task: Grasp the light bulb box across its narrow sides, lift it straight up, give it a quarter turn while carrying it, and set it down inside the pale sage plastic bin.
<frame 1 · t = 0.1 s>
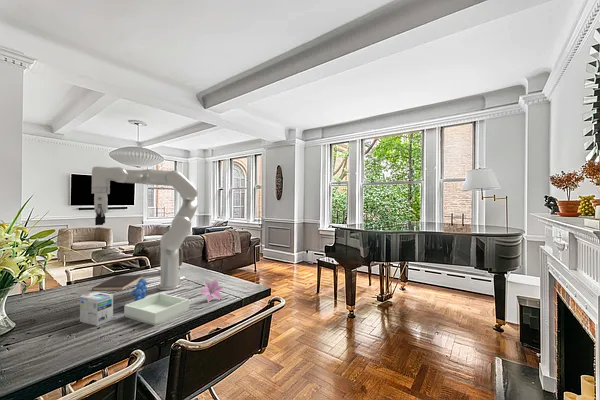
hand: (100, 224, 140), 37 cm above the table, tool pointing down, fingers open, 9 cm apart
hardcover book: (119, 284, 162), on the table
lily: (211, 299, 139), on the table
bin: (157, 313, 121), on the table
tabletop clock: (170, 272, 189), on the table
light bulb box: (96, 321, 113), on the table
grapes: (138, 304, 131), on the table
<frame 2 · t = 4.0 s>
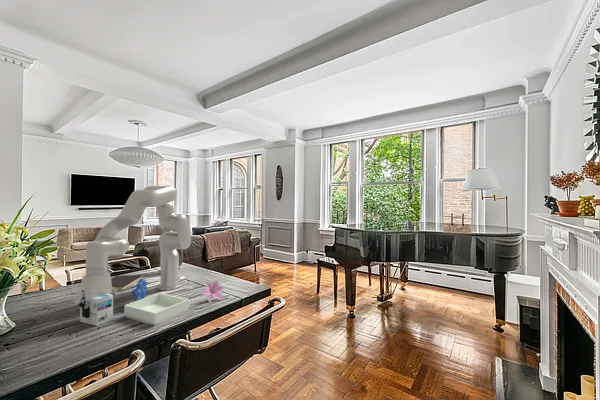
hand: (96, 313, 113), 3 cm above the table, tool pointing down, fingers closed on light bulb box, 7 cm apart
light bulb box: (96, 321, 113), on the table, touching gripper
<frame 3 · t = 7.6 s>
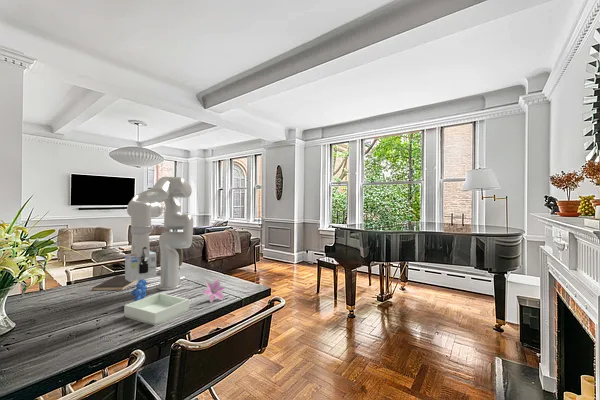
hand: (140, 270, 119), 19 cm above the table, tool pointing down, fingers closed on light bulb box, 7 cm apart
light bulb box: (140, 278, 119), point 16 cm above the table, touching gripper
when the fingers open (6 cm above the table, at t = 11.2 s): light bulb box drops 2 cm, resting on bin.
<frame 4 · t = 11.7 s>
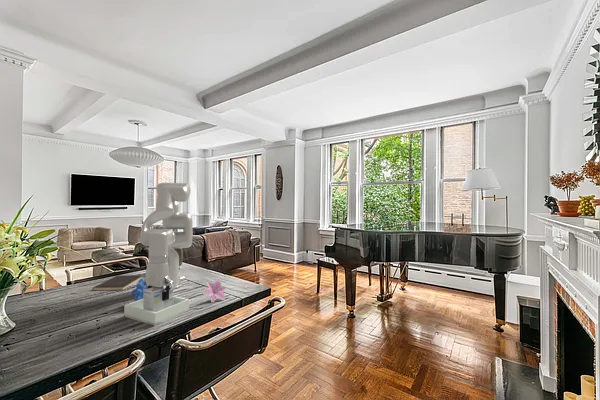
hand: (157, 298, 121), 7 cm above the table, tool pointing down, fingers open, 9 cm apart
light bulb box: (158, 311, 121), point 1 cm above the table, touching bin
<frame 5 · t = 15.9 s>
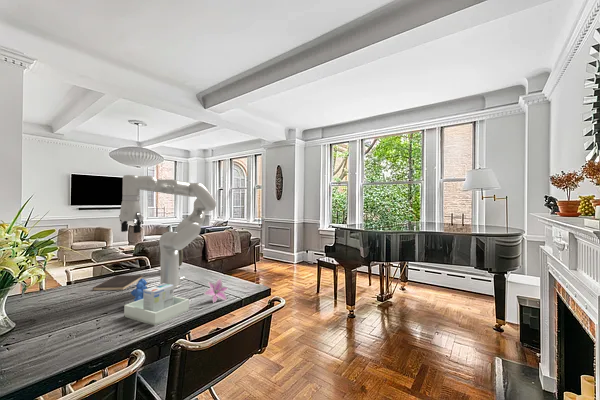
hand: (130, 232, 141), 33 cm above the table, tool pointing down, fingers open, 9 cm apart
at the end: light bulb box inside the target area on the bin (0.4 cm from its centre), point 0.8 cm above the bin's base; the gripper is holding nothing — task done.
